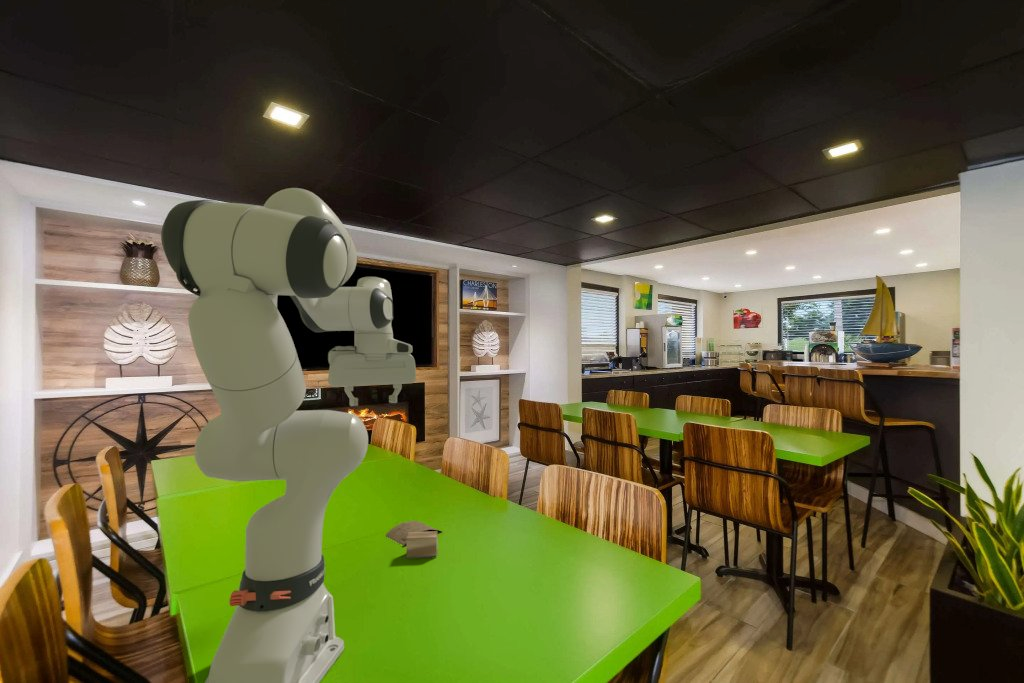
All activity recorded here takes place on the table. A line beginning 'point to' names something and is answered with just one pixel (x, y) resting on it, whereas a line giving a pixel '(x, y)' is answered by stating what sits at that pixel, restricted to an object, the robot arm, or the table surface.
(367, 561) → the table surface
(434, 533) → the block
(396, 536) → the clay tablet
